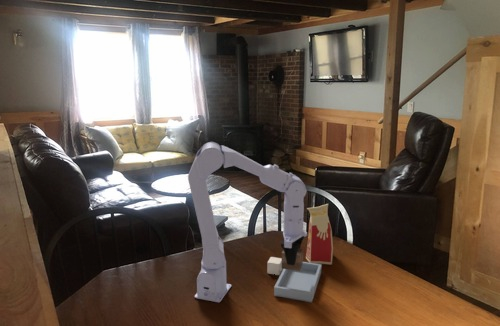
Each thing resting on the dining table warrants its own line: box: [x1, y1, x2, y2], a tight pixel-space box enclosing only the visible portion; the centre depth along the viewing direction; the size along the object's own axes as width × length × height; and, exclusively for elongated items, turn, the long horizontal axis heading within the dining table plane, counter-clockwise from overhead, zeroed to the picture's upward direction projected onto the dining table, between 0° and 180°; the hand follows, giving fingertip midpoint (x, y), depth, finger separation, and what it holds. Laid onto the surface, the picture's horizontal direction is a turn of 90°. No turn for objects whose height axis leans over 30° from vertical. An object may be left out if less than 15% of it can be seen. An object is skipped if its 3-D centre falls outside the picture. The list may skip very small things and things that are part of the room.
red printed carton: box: [305, 203, 334, 266], centre depth 133 cm, size 9×9×20 cm
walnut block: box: [281, 247, 304, 271], centre depth 115 cm, size 4×6×5 cm
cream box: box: [266, 256, 283, 276], centre depth 126 cm, size 4×4×4 cm
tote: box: [273, 261, 323, 303], centre depth 119 cm, size 18×11×3 cm, turn 161°
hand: (292, 260), depth 115 cm, fingers closed on walnut block, 4 cm apart
